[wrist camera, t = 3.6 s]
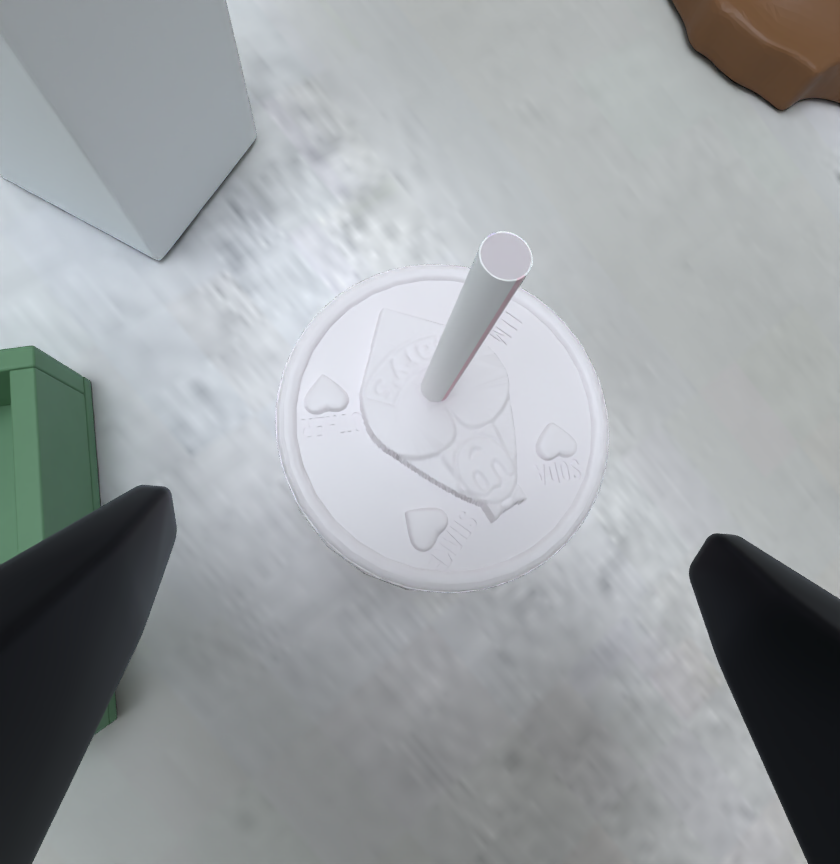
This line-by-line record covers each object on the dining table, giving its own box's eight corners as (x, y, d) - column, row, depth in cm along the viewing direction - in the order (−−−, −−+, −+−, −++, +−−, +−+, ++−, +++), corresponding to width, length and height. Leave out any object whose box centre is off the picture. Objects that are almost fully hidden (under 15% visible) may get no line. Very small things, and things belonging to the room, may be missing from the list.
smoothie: (426, 370, 19) (598, -28, 6) (515, 509, 19) (947, 417, 5) (281, 451, 18) (62, 168, 4) (370, 605, 17) (441, 833, 4)
